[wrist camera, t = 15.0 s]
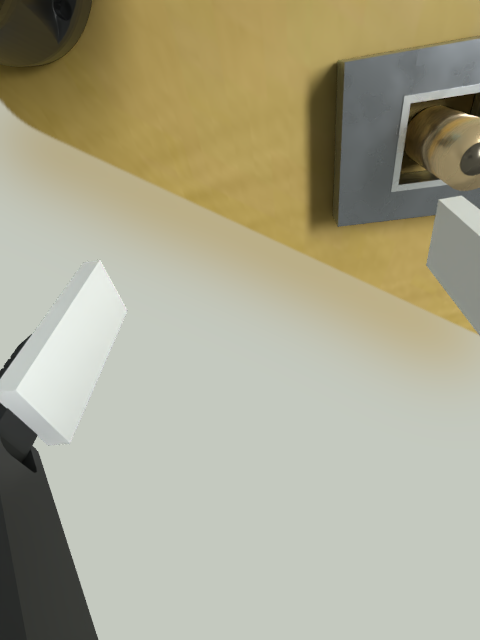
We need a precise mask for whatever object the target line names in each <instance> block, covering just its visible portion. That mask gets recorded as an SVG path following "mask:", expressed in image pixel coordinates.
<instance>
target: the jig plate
mask: <svg viewBox="0 0 480 640" xmlns="http://www.w3.org/2000/svg"><path fill="white" fill-rule="evenodd" d="M473 93H476V94H475V98H474V102H473V106H472V111H471V115H473V116H476V117H479V118H480V36H475V37H469V38H464V39H458V40H452V41H447V42H441V43H435V44H430V45H424V46H418V47H413V48H407V49H401V50H396V51H390V52H384V53H379V54H373V55H367V56H362V57H356V58H350V59H345V60H339V61H338V62H337V95H336V127H335V159H334V191H333V217H334V219H335V221H336V224H337V226H338V227H339V226H347V225H356V224H364V223H372V222H381V221H389V220H397V219H405V218H414V217H422V216H430V215H436V211H437V205H438V200H439V199H445V198H451V197H456V196H463V197H464V198H466V199H467V200H468V201H469V202H471V203H472V204H473V205H475V206H476V207H477V208H478V209H480V187H479V188H477V189H474V190H469V191H459V190H456V189H453V188H452V187H450V186H449V185H447V184H446V183H445V182H443V181H442V180H440V179H439V178H438V177H436V176H435V175H433V174H432V173H431V172H429V171H428V170H426V171H419V172H411V173H404V174H400V171H401V164H402V158H403V151H404V144H405V138H406V131H407V124H408V117H409V111H410V104H411V103H416V102H422V101H428V100H435V99H441V98H447V97H454V96H460V95H466V94H473Z"/></svg>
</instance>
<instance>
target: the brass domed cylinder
mask: <svg viewBox="0 0 480 640" xmlns="http://www.w3.org/2000/svg"><path fill="white" fill-rule="evenodd" d="M404 150H405V152H406V154H407V155H408V156H409V157H410V158H411V159H412V160H414V161H415V162H417V163H418V164H419V165H421V166H422V167H424V168H425V169H426V170H428V171H429V172H431V173H432V174H433V175H435V176H436V177H438V178H439V179H440V180H442V181H443V182H445V183H446V184H447V185H449V186H450V187H452V188H453V189H456V190H459V191H469V190H474V189H477V188H479V187H480V118H479V117H476V116H473V115H470V114H467V113H464V112H460V111H457V110H454V109H451V108H448V107H445V106H432V107H429V108H426V109H424V110H423V111H421V112H420V113H419V114H417V115H416V116H415V117H414V118H413V119H412V121H411V122H410V123H409V125H408V127H407V131H406V138H405V144H404Z"/></svg>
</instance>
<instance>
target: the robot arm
mask: <svg viewBox="0 0 480 640" xmlns="http://www.w3.org/2000/svg"><path fill="white" fill-rule="evenodd" d="M91 4H92V0H0V64H1V65H6V66H13V67H27V66H38V65H44V64H48V63H50V62H53V61H55V60H57V59H59V58H61V57H62V56H64V55H65V54H66V53H67V52H68V51H69V50H70V49H71V48H72V47H73V46H74V45H75V44H76V42H77V41H78V39H79V38H80V36H81V34H82V32H83V30H84V28H85V26H86V23H87V20H88V17H89V13H90V9H91ZM426 265H427V267H428V268H429V269H430V271H431V272H432V273H433V275H434V276H435V277H436V279H437V280H438V281H439V283H440V284H441V285H442V286H443V288H444V289H445V290H446V292H447V293H448V294H449V296H450V297H451V298H452V300H453V301H454V302H455V304H456V305H457V306H458V308H459V309H460V310H461V311H462V313H463V314H464V315H465V317H466V318H467V319H468V321H469V322H470V323H471V325H472V326H473V327H474V329H475V330H476V331H477V333H478V334H479V335H480V209H478V208H477V207H476V206H475V205H473V204H472V203H471V202H469V201H468V200H467V199H466V198H464V197H463V196H456V197H451V198H445V199H439V200H438V205H437V211H436V216H435V222H434V227H433V232H432V238H431V243H430V248H429V254H428V259H427V264H426ZM126 313H127V309H126V307H125V305H124V303H123V301H122V299H121V297H120V296H119V294H118V292H117V290H116V288H115V286H114V285H113V283H112V281H111V279H110V277H109V275H108V273H107V272H106V270H105V268H104V266H103V264H102V262H101V260H95V261H90V262H84V263H83V264H82V265H81V266H80V268H79V269H78V271H77V272H76V273H75V275H74V276H73V278H72V279H71V281H70V282H69V283H68V285H67V286H66V287H65V289H64V290H63V292H62V293H61V294H60V296H59V297H58V299H57V300H56V301H55V303H54V304H53V306H52V307H51V308H50V310H49V311H48V313H47V314H46V315H45V317H44V318H43V320H42V321H41V322H40V324H39V325H38V327H37V328H36V329H35V331H34V332H33V334H31V335H30V336H29V337H28V338H27V339H25V340H24V341H23V342H22V343H21V344H20V345H19V346H18V347H17V348H16V350H15V351H14V353H13V354H12V355H11V359H8V361H7V362H6V364H5V365H4V368H3V369H1V370H0V640H98V637H97V634H96V631H95V628H94V625H93V622H92V619H91V615H90V613H89V609H88V606H87V603H86V600H85V597H84V594H83V590H82V588H81V584H80V581H79V578H78V575H77V572H76V569H75V565H74V562H73V559H72V556H71V553H70V550H69V547H68V544H67V540H66V537H65V534H64V531H63V528H62V525H61V521H60V518H59V515H58V512H57V509H56V506H55V503H54V500H53V496H52V493H51V490H50V487H49V484H48V481H47V478H46V474H45V471H44V468H43V465H42V462H41V459H40V456H39V453H38V451H37V450H36V448H34V447H33V446H32V445H33V443H34V441H35V439H36V437H37V436H38V437H39V438H40V439H41V440H43V441H44V442H45V443H46V444H47V445H48V446H49V445H60V444H69V443H71V440H72V438H73V435H74V433H75V431H76V429H77V426H78V424H79V422H80V419H81V417H82V415H83V413H84V410H85V408H86V406H87V403H88V401H89V399H90V396H91V394H92V392H93V389H94V387H95V385H96V382H97V380H98V378H99V375H100V373H101V371H102V368H103V366H104V364H105V361H106V359H107V357H108V355H109V352H110V350H111V348H112V345H113V343H114V341H115V338H116V336H117V334H118V331H119V329H120V327H121V325H122V322H123V320H124V318H125V315H126Z"/></svg>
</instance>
